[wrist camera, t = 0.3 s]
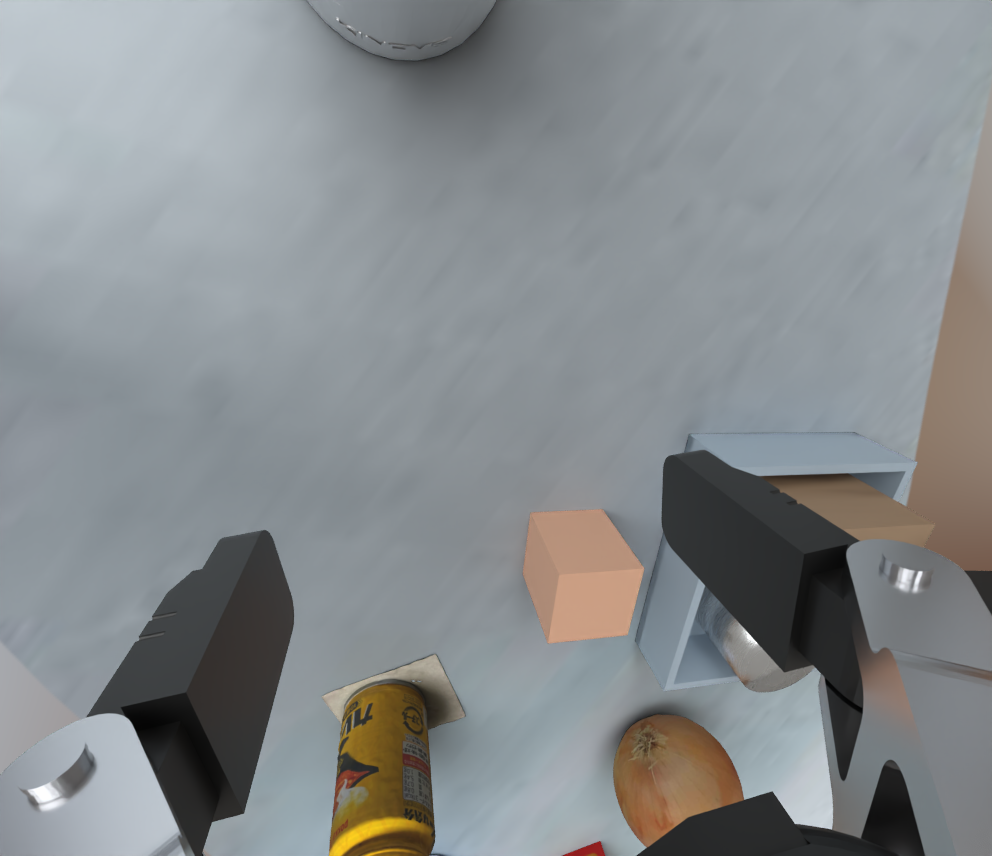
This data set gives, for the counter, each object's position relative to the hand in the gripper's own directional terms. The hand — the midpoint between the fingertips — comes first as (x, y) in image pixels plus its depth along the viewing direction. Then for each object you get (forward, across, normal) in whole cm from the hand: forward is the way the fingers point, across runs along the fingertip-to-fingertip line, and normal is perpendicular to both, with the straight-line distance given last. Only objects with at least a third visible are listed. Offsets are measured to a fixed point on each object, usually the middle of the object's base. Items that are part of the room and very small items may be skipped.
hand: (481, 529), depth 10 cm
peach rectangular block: (+18, -7, +14) cm, 24 cm away
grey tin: (+18, -20, +22) cm, 34 cm away
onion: (+20, -14, +37) cm, 44 cm away
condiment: (+19, +6, +26) cm, 33 cm away
